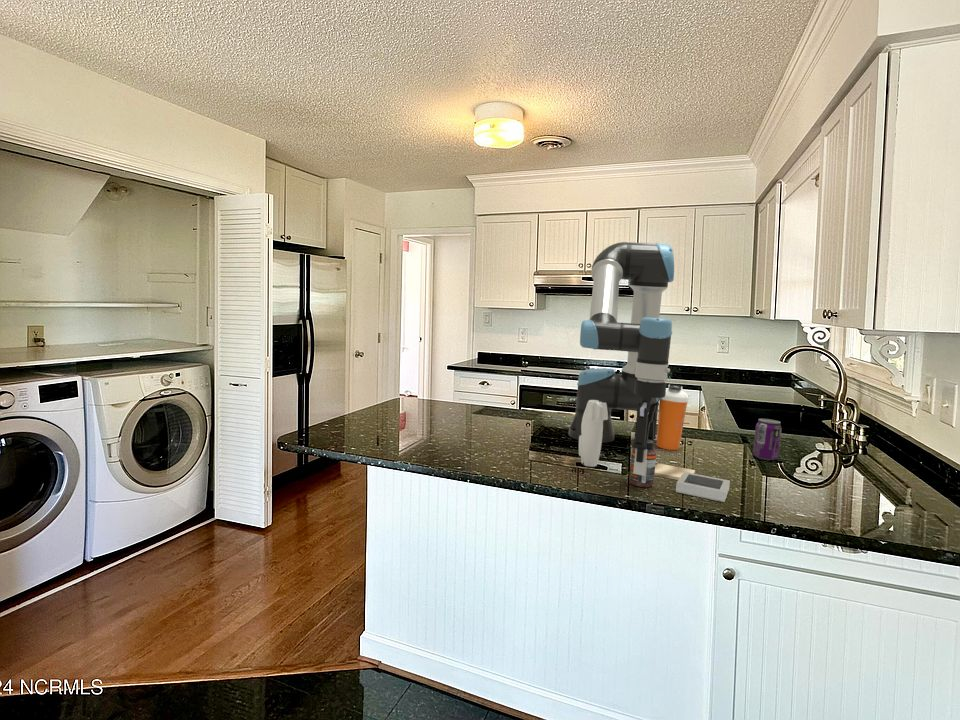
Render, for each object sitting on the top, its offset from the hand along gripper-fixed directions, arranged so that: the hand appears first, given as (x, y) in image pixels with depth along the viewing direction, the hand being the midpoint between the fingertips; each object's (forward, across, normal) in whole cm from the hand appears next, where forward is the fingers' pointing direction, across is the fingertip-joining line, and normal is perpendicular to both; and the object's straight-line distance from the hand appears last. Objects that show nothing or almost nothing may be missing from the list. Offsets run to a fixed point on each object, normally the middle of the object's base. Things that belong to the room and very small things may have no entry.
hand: (642, 471), depth 140 cm
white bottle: (+4, +8, +16) cm, 18 cm away
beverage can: (+4, +53, -26) cm, 59 cm away
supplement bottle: (+4, 0, 0) cm, 4 cm away
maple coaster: (+3, +15, -5) cm, 16 cm away
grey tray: (+3, +5, -14) cm, 15 cm away
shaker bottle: (+3, +45, +2) cm, 45 cm away
